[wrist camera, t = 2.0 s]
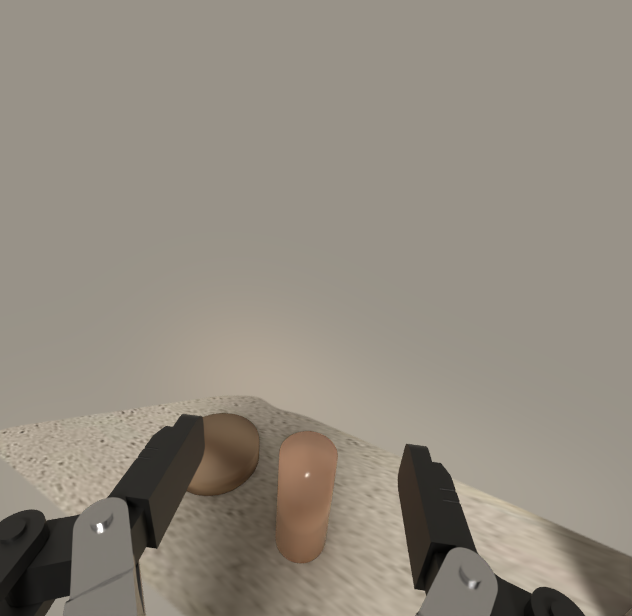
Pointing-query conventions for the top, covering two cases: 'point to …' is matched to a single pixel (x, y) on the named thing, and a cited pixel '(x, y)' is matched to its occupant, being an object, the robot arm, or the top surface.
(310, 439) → the tan rounded post
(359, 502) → the top surface
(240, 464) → the brown disc
